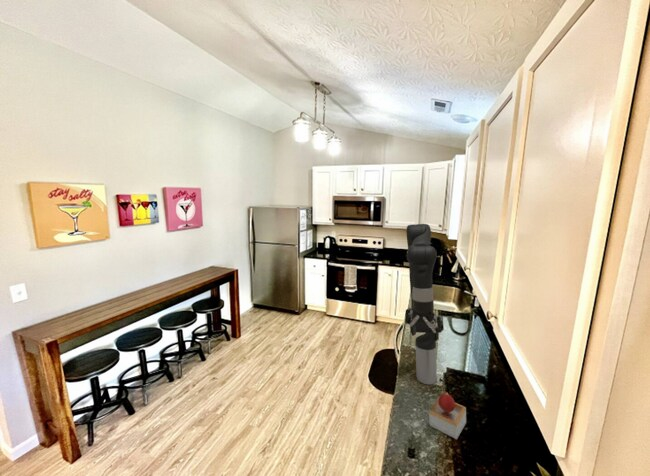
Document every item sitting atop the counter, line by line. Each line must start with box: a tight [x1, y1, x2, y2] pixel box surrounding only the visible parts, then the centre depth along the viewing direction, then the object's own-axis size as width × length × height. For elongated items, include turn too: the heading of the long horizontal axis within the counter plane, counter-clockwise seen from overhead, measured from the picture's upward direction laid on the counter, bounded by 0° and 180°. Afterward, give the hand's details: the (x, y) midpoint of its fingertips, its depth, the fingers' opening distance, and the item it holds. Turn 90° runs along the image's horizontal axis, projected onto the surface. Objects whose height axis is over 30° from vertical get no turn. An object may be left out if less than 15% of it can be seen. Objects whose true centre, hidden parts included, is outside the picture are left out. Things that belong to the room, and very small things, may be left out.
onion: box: [438, 392, 456, 413], centre depth 105 cm, size 6×6×8 cm
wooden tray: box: [428, 395, 467, 440], centre depth 106 cm, size 13×10×6 cm
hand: (424, 337), depth 107 cm, fingers open, 8 cm apart
